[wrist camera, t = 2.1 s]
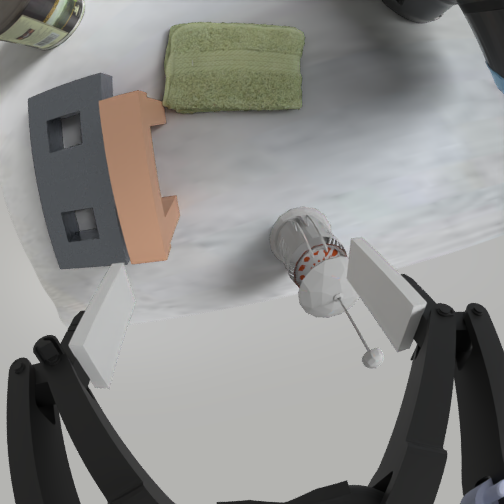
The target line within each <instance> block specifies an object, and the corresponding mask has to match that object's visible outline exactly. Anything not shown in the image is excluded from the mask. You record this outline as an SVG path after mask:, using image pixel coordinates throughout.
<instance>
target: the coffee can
mask: <svg viewBox="0 0 504 504" xmlns="http://www.w3.org/2000/svg"><path fill="white" fill-rule="evenodd" d="M84 10H85V3H84V0H0V41H6V42H11V43H16V44H22V45H26V46H31V47H35V48H38V49H41V50H47V49H51V48H54V47H56V46H58V45H59V44H61V43H62V42H64V41H65V40H66V39H67V38H68V37H69V36H70V35H71V34H72V33H73V32H74V31H75V29H76V28H77V26H78V25H79V23H80V21H81V19H82V17H83V14H84Z"/></svg>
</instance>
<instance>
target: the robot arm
mask: <svg viewBox="0 0 504 504" xmlns="http://www.w3.org/2000/svg"><path fill="white" fill-rule="evenodd" d="M382 1H383V2H384V3H385V4H386V5H387V6H388V7H390V8H391V9H392V10H393V11H395V12H396V13H398V14H399V15H401V16H402V17H404V18H406V19H408V20H411V21H414V22H418V23H427V22H431V21H434V20H437V19H439V18H440V17H441V16H442V15H443V14H444V12H445V11H447V10H448V9H449V8H451V7H452V6H453V5H456V4H458V5H459V6H460V8H461V10H462V11H463V13H464V15H465V17H466V19H467V21H468V23H469V25H470V27H471V29H472V31H473V33H474V35H475V37H476V39H477V41H478V43H479V45H480V48H481V50H482V52H483V55H484V57H485V60H486V64H487V67H488V68H489V69H490V71H491V73H492V76H493V78H494V81H495V83H496V85H497V87H498V89H499V90H500V91H501V92H503V94H504V0H382ZM346 279H347V280H348V281H349V283H350V284H351V285H352V287H353V288H354V290H355V291H356V292H357V294H358V295H359V297H360V298H361V299H362V301H363V302H364V304H365V305H366V307H367V308H368V309H369V311H370V312H371V314H372V315H373V317H374V318H375V320H376V321H377V323H378V324H379V326H380V327H381V328H382V330H383V331H384V333H385V334H386V336H387V337H388V339H389V340H390V342H391V344H392V345H393V346H394V348H395V350H396V351H397V352H399V351H402V350H405V349H409V348H410V346H411V344H412V342H413V339H414V340H415V341H416V343H417V346H416V349H415V351H414V353H413V355H412V358H411V360H413V362H412V367H411V371H410V375H409V379H408V383H407V387H406V391H405V395H404V398H403V401H402V405H401V408H400V412H399V415H398V418H397V421H396V424H395V427H394V430H393V433H392V436H391V438H390V441H389V444H388V446H387V449H386V452H385V454H384V457H383V459H382V461H381V464H380V466H379V468H378V470H377V472H376V473H375V475H374V476H373V478H372V479H371V482H370V483H369V485H368V487H367V486H361V485H348V482H347V481H344V482H340V483H337V484H333V485H330V486H326V487H322V488H318V489H315V490H313V491H311V492H309V493H307V494H305V495H302V496H300V497H298V498H296V499H293V500H290V501H288V502H285V503H279V502H264V501H253V500H245V501H234V502H233V501H232V502H217V504H433V503H434V500H435V497H436V494H437V492H438V488H439V485H440V482H441V479H442V475H443V472H444V468H445V464H446V460H447V451H446V450H444V449H443V444H444V439H445V434H446V429H447V424H448V418H449V412H450V406H451V398H452V390H453V381H454V380H455V386H456V393H457V401H458V409H459V419H460V431H461V453H462V488H463V495H464V497H463V499H462V501H461V503H460V504H504V351H503V348H502V346H501V343H500V341H499V338H498V335H497V333H496V331H495V328H494V326H493V323H492V321H491V318H490V316H489V314H488V312H487V310H486V309H485V308H484V307H483V306H482V305H480V304H476V303H471V304H468V306H467V308H466V310H465V312H455V311H454V310H453V308H451V307H450V306H448V305H446V304H442V303H438V304H436V303H435V302H434V301H433V299H432V298H431V297H430V296H429V295H428V294H427V293H426V292H425V291H424V290H422V288H421V287H420V286H419V285H417V283H416V282H415V281H414V280H413V279H412V278H410V277H409V276H407V275H405V274H401V275H400V274H399V273H398V272H397V271H396V270H395V269H394V268H393V267H392V266H391V265H390V264H389V263H388V262H387V261H386V260H385V259H384V258H383V257H382V256H381V255H380V254H379V253H378V252H377V251H376V250H375V249H374V248H373V247H372V246H371V245H370V244H369V243H368V242H367V241H366V240H365V239H364V238H362V237H361V238H351V244H350V253H349V262H348V270H347V278H346ZM135 303H136V300H135V297H134V294H133V291H132V288H131V285H130V282H129V279H128V276H127V272H126V269H125V265H124V263H115V264H112V265H111V266H110V268H109V270H108V271H107V273H106V275H105V276H104V278H103V280H102V282H101V283H100V285H99V287H98V289H97V290H96V292H95V294H94V296H93V298H92V299H91V301H90V303H89V305H88V307H87V309H86V311H80V312H79V313H78V314H77V315H76V316H75V317H74V319H73V321H72V322H71V324H70V325H71V326H69V328H68V332H66V334H65V336H64V338H63V340H62V342H61V344H60V343H59V341H58V339H57V338H56V337H55V336H53V335H47V336H44V337H42V338H41V339H39V340H38V341H37V342H36V343H35V345H34V348H33V352H34V354H35V355H36V357H37V358H38V360H39V361H40V363H38V364H34V365H31V363H30V362H29V360H28V359H27V358H19V359H17V360H15V361H14V362H13V363H12V365H11V366H10V369H9V377H8V391H7V444H8V457H9V466H10V474H11V481H12V486H13V492H14V497H15V503H16V504H80V501H79V498H78V495H77V492H76V488H75V485H74V482H73V478H72V475H71V471H70V467H69V463H68V459H67V454H66V451H65V445H64V440H63V435H62V429H61V423H60V417H59V413H60V415H61V417H62V420H63V422H64V424H65V426H66V429H67V431H68V433H69V435H70V437H71V439H72V441H73V443H74V445H75V447H76V449H77V451H78V453H79V455H80V457H81V458H82V460H83V462H84V464H85V466H86V467H87V469H88V471H89V472H90V474H91V476H92V477H93V479H94V481H95V482H96V484H97V485H98V487H99V489H100V490H101V491H102V493H103V495H104V496H105V498H106V499H107V501H108V504H175V503H174V502H172V500H170V499H169V497H167V496H166V494H165V493H164V492H163V491H162V490H161V489H160V488H159V487H158V485H157V484H156V483H155V482H154V481H153V480H152V479H151V477H150V476H149V475H148V474H147V473H146V471H145V470H144V469H143V468H142V466H141V465H140V464H139V463H138V461H137V460H136V459H135V458H134V456H133V455H132V454H131V452H130V451H129V449H128V448H127V447H126V445H125V444H124V443H123V441H122V440H121V438H120V437H119V436H118V434H117V432H116V431H115V430H114V428H113V426H112V425H111V423H110V422H109V420H108V419H107V417H106V416H105V414H104V413H103V411H102V409H101V407H100V406H99V404H98V403H97V401H96V399H95V397H94V395H93V394H92V392H91V390H90V389H89V388H88V384H89V381H91V382H92V384H93V385H94V386H95V388H108V389H109V388H110V384H111V381H112V377H113V373H114V370H115V366H116V363H117V359H118V355H119V352H120V349H121V346H122V343H123V339H124V336H125V333H126V330H127V327H128V324H129V321H130V318H131V315H132V312H133V309H134V306H135Z"/></svg>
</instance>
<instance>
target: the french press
mask: <svg viewBox="0 0 504 504" xmlns="http://www.w3.org/2000/svg"><path fill="white" fill-rule="evenodd" d="M331 238H332V241H331V244H329V243H330V240H331ZM334 239H335V245H333V241H334ZM269 240H270V245H271V250H272V252H273V253H274V255H275V256H276V257H277V259H278V260H280V261H282V262H284V264H285V266H286V269H287V271H288V274H289V273H291V274H292V275H294V277H293V276H292V275H290V274H289V276H290V278H291V279H292V280H293V282H294V283H295V284H296V285H297V286H298V287H299V288H300V289H299V292H298V295H299V302H300V305H301V306H302V308H303V309H304V310H305V312H306V313H308V314H311V315H313V316H315V317H326V318H329V317H332V316H335V315H339V314H342V313H343V312H346V314H347V315H348V317H349V319H350V321H351V322H352V324H353V326H354V328H355V329H356V331H357V333H358V335H359V336H360V338H361V340H362V342H363V344H364V345H365V347H366V349H367V351H368V352H366V353H365V354H364V356H363V358H362V362H363V364H364V365H365V366H366V367H368V368H376V367H377V366H379V365H380V364H381V363H382V361H383V359H384V356H383V353H382V351H381V349H380V348H374V349H371V350H370V349H369V348H368V346H367V344H366V342H365V340H364V339H363V337H362V335H361V333H360V332H359V330H358V328H357V327H356V325H355V323H354V321H353V320H352V318H351V316H350V315H349V313H348V311H347V310H348V309H349V308H351V307H352V306H353V305H354V304H355V302H357V300H358V299H359V298H360V297H359V295H358V294H357V292H356V291H355V290H354V288H353V287H352V285H351V284H350V283H349V281H348V280H347V279H346V278H347V270H348V262H349V258H348V257H347V255H346V251H345V249H344V247H343V246H342V244H341V243H340V242H339V241H338V240H337V239H336V238H335V236H334V235H333V234H332V233H331V225H330V223H329V221H328V219H327V218H326V216H325V215H324V214H323V213H321V212H320V211H318V210H317V209H314V208H309V207H299V208H295V209H290V210H289V211H287V212H286V213H285V214H283V215H282V216H280V217H279V218H278V220H277V221H276V223H275V224H274V225H273V227H272V230H271V234H270V239H269ZM337 241H338V243H339V246H337ZM340 244H341V245H340ZM341 246H342V249H341V248H340V247H341ZM286 264H287V265H286ZM293 265H294V266H293ZM289 266H291V267H293V268H295V269H292V268H290V267H289ZM289 269H290V270H292V271H294V273H293V272H291V271H290V270H289Z"/></svg>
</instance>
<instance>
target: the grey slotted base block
mask: <svg viewBox="0 0 504 504" xmlns="http://www.w3.org/2000/svg"><path fill="white" fill-rule="evenodd" d="M111 97H113V89H112V76H110V75H107V74H103V73H98V74H95V75H91V76H88V77H85V78H81V79H78V80H75V81H72V82H69V83H66V84H64V85H61V86H58V87H56V88H53V89H50V90H48V91H45V92H43V93H40V94H38V95H36V96H33V97H31V98H29V99H28V112H29V127H30V138H31V147H32V155H33V162H34V168H35V174H36V180H37V185H38V190H39V195H40V200H41V204H42V209H43V213H44V217H45V221H46V225H47V228H48V232H49V235H50V239H51V242H52V246H53V249H54V252H55V255H56V258H57V261H58V264H59V267H60V269H71V268H85V267H99V266H111V265H112V264H115V263H124V265H127V264H128V262H129V260H130V257H129V254H128V250H127V247H126V243H125V240H124V236H123V232H122V228H121V225H120V221H119V217H118V212H117V208H116V204H115V199H114V195H113V190H112V186H111V181H110V176H109V170H108V165H107V159H106V153H105V147H104V141H103V134H102V127H101V119H100V110H99V101H101V100H104V99H107V98H111ZM77 114H80V123H81V134H82V143H83V144H80V145H76V146H72V147H68V148H65V149H64V147H63V138H62V127H61V119H64V118H67V117H70V116H73V115H77ZM86 208H93V211H94V216H95V220H96V225H97V229H92V230H84V231H79V228H78V223H77V219H76V215H75V211H74V210H80V209H86Z"/></svg>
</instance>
